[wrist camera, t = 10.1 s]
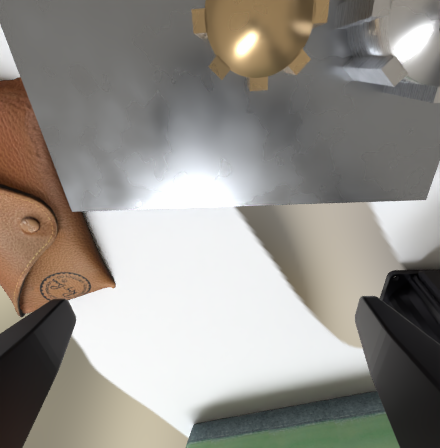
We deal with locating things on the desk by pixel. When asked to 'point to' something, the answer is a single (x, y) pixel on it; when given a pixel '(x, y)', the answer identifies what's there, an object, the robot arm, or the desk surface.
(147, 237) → the desk surface
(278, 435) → the planter
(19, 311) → the sunglasses case
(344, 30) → the carrier
